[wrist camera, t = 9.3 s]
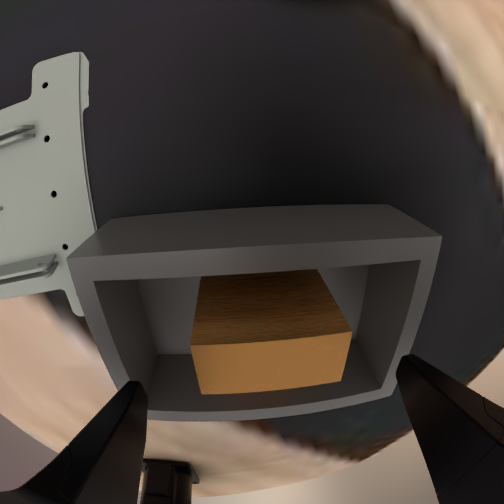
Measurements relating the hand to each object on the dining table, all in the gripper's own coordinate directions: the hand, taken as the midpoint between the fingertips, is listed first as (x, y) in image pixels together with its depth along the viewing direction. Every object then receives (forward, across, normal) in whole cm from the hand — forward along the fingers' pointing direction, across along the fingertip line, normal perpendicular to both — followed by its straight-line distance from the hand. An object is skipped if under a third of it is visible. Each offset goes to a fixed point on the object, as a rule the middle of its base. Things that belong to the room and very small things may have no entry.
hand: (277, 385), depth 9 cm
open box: (+8, 0, +1) cm, 8 cm away
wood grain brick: (+7, 0, +1) cm, 8 cm away
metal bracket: (+8, +15, -6) cm, 18 cm away
